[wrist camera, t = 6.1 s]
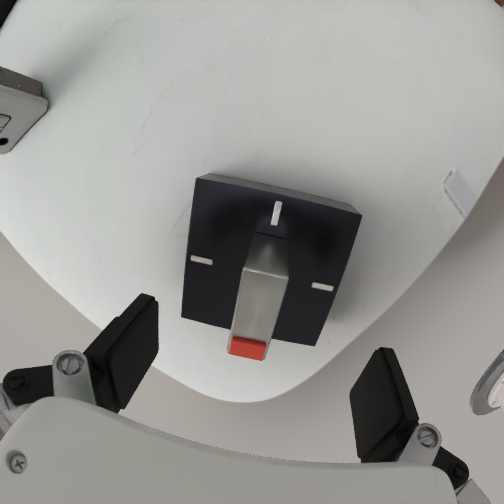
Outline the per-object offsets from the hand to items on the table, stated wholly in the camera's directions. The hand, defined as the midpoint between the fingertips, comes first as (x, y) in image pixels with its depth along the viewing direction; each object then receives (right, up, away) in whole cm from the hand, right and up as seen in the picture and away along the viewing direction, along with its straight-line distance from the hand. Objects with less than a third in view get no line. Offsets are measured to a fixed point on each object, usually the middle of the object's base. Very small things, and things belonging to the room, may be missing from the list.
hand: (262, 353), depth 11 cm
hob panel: (+1, +4, +9) cm, 10 cm away
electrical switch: (-24, +18, +7) cm, 31 cm away
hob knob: (0, +3, +7) cm, 7 cm away
